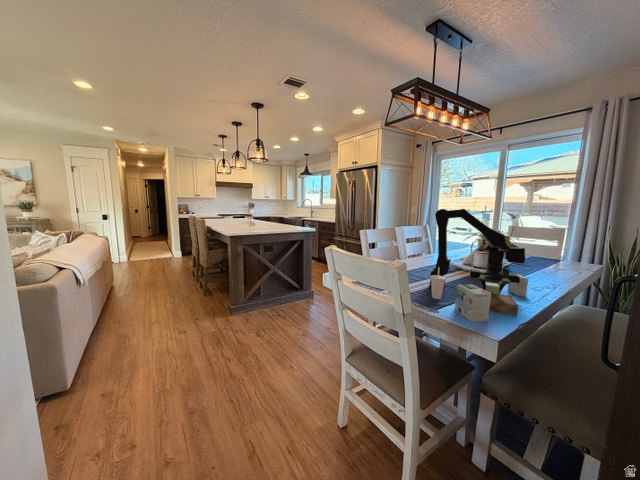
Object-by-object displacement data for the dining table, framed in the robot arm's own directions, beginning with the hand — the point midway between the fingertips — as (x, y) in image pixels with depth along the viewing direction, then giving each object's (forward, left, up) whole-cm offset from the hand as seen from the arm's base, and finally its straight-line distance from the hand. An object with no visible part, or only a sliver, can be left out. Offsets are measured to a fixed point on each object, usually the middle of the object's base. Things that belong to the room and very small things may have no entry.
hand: (491, 293), depth 119 cm
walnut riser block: (0, -13, -2) cm, 13 cm away
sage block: (0, 0, -2) cm, 2 cm away
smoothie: (-22, -13, -2) cm, 26 cm away
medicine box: (+12, +12, -2) cm, 17 cm away
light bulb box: (-10, -27, -2) cm, 29 cm away
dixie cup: (+7, +40, -2) cm, 41 cm away
